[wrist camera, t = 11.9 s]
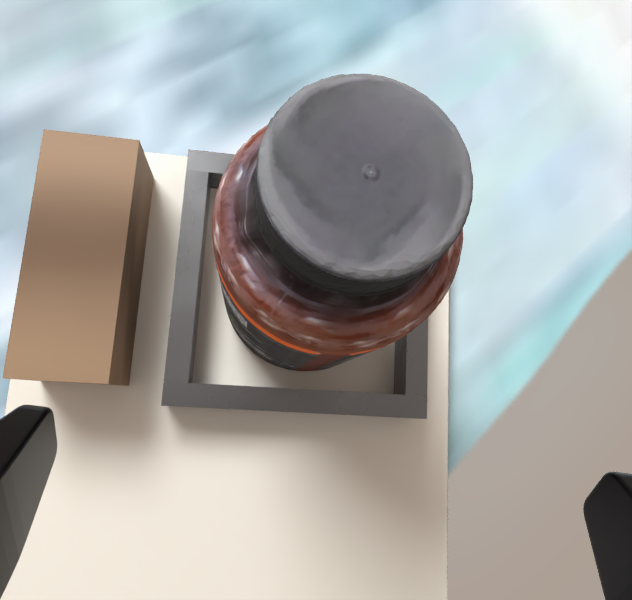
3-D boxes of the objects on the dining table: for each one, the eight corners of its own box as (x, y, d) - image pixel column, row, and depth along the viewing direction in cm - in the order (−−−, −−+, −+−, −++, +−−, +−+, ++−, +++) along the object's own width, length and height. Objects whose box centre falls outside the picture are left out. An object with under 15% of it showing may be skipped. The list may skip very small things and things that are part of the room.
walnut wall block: (129, 385, 19) (108, 383, 16) (40, 381, 18) (3, 378, 15) (153, 177, 20) (139, 140, 17) (72, 168, 20) (43, 129, 17)
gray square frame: (413, 417, 20) (426, 418, 18) (167, 404, 19) (160, 405, 17) (416, 191, 22) (429, 176, 20) (192, 166, 20) (188, 149, 19)
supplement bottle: (400, 265, 21) (577, 119, 10) (337, 400, 20) (460, 405, 9) (268, 196, 21) (298, -33, 10) (194, 328, 19) (133, 238, 8)
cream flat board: (436, 676, 19) (446, 691, 18) (-26, 684, 17) (-42, 701, 16) (440, 194, 23) (449, 185, 22) (57, 153, 21) (49, 141, 20)
